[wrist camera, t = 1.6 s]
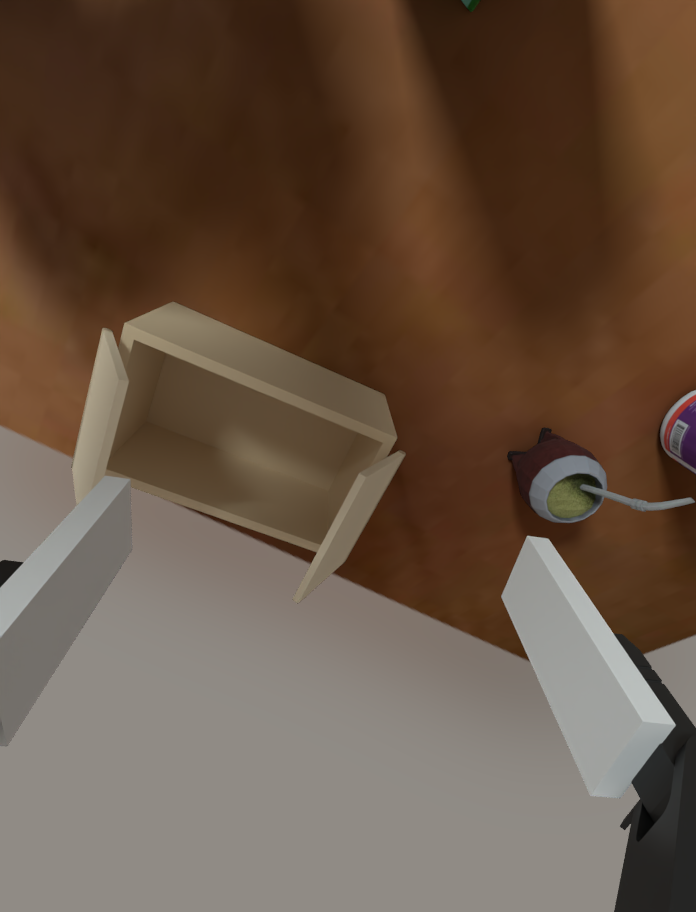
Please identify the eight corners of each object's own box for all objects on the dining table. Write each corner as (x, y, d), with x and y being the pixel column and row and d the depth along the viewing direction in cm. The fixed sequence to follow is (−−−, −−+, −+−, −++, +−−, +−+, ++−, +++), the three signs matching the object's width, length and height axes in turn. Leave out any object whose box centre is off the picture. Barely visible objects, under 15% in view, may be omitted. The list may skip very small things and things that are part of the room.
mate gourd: (496, 485, 48) (558, 585, 34) (513, 413, 44) (590, 493, 31) (566, 488, 48) (656, 589, 35) (589, 417, 45) (698, 499, 31)
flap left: (112, 329, 30) (130, 381, 25) (80, 465, 34) (89, 533, 29) (101, 327, 30) (117, 379, 25) (70, 464, 34) (79, 533, 29)
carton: (138, 423, 44) (87, 473, 35) (173, 301, 39) (124, 322, 30) (332, 496, 48) (331, 558, 39) (384, 394, 43) (397, 437, 34)
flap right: (340, 557, 38) (291, 599, 32) (400, 449, 34) (358, 472, 28) (345, 561, 38) (298, 604, 32) (407, 453, 34) (366, 477, 27)
